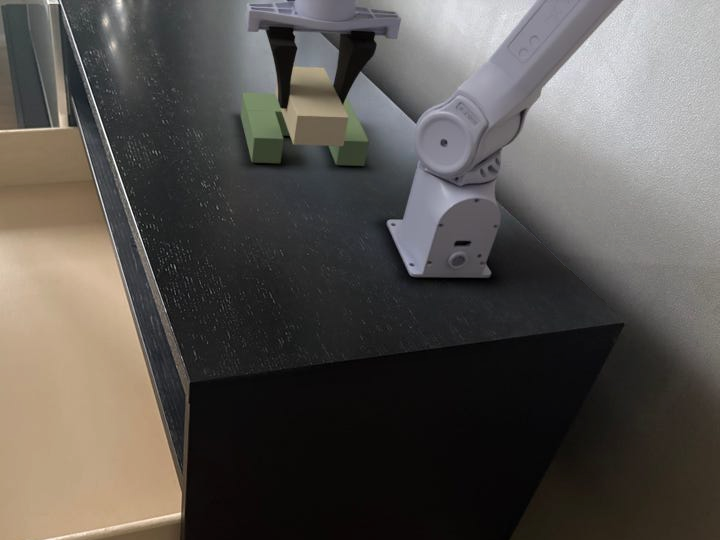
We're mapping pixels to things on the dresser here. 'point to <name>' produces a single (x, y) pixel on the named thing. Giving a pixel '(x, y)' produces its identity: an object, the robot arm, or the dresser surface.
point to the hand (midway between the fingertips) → (309, 105)
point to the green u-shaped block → (269, 127)
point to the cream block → (314, 109)
